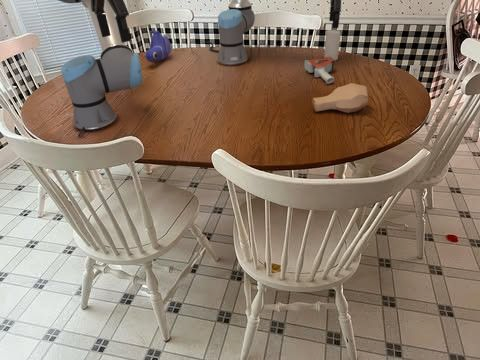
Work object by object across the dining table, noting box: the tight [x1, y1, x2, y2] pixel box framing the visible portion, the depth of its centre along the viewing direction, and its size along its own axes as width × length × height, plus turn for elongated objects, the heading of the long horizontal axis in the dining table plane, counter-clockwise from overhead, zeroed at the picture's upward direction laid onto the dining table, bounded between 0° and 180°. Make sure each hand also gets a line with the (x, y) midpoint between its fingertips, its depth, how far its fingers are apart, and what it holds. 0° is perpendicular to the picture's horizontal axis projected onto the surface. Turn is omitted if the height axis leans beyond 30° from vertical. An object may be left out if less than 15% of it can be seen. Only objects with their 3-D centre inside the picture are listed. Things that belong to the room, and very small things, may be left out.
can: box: [323, 29, 342, 61], centre depth 175 cm, size 7×7×13 cm
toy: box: [144, 30, 172, 67], centre depth 185 cm, size 10×17×25 cm
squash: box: [312, 82, 369, 113], centre depth 129 cm, size 11×20×9 cm, turn 92°
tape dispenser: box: [304, 57, 335, 85], centre depth 159 cm, size 18×5×20 cm
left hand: (116, 38), depth 112 cm, fingers open, 13 cm apart
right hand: (333, 24), depth 168 cm, fingers open, 13 cm apart
